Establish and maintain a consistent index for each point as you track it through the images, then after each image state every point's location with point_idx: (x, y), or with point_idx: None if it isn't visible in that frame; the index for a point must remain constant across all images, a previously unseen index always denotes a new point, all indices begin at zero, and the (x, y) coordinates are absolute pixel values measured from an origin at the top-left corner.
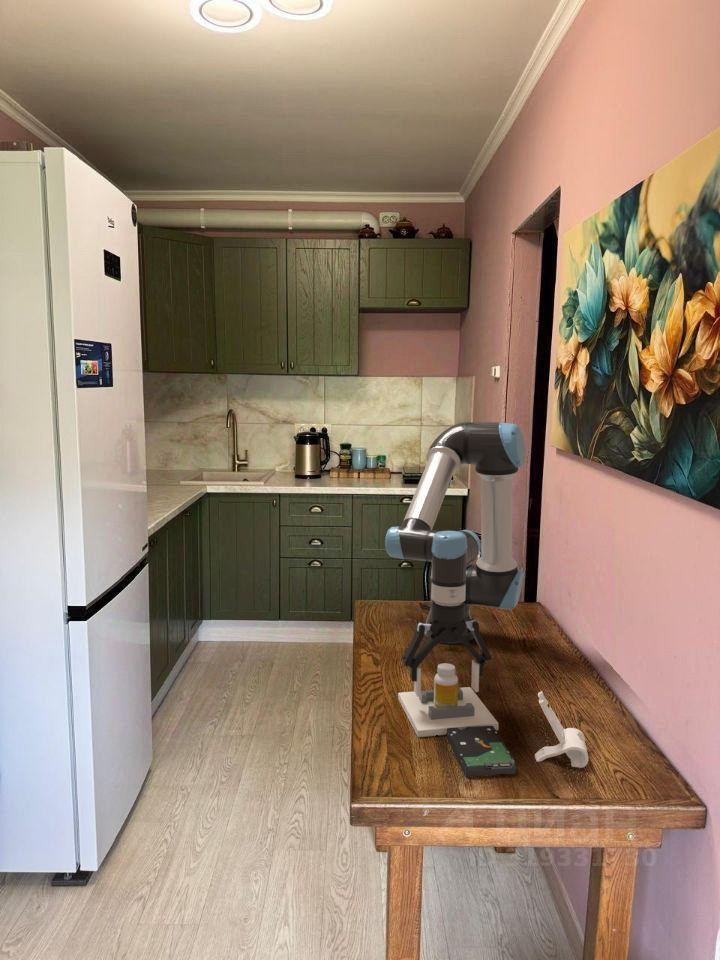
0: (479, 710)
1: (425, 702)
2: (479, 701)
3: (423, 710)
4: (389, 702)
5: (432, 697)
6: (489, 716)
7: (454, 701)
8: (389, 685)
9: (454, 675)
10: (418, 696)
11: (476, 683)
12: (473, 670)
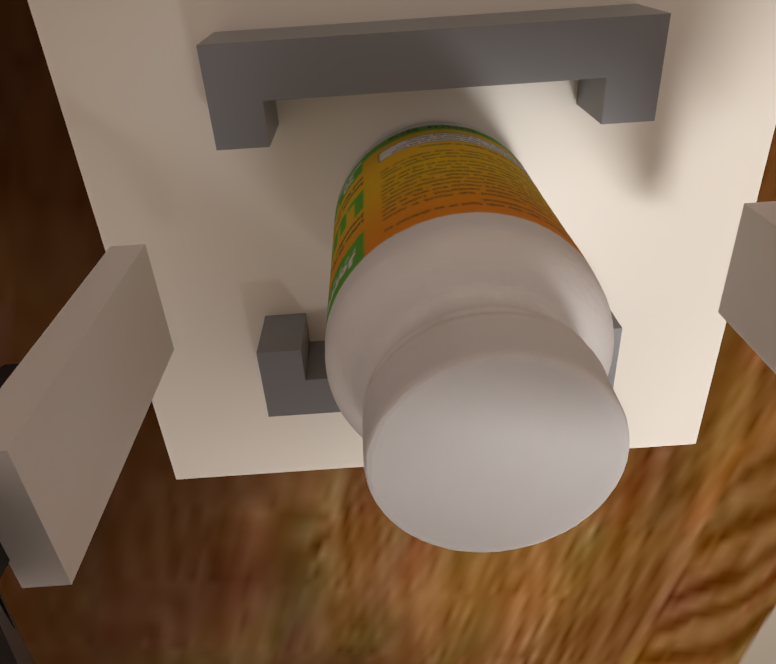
0: (150, 134)
1: None
2: None
3: (631, 183)
4: (753, 378)
5: None
6: (64, 1)
7: (384, 162)
8: (657, 550)
9: (372, 367)
10: (765, 203)
11: (104, 290)
12: (96, 439)
